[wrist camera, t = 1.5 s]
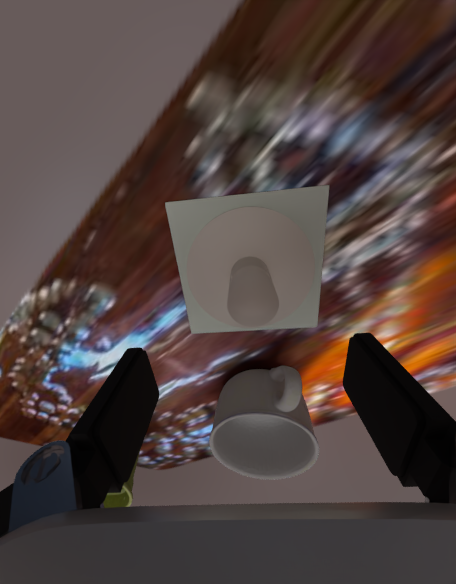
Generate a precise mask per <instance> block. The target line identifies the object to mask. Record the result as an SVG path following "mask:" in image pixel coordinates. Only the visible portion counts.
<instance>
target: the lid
mask: <svg viewBox="0 0 456 584" xmlns="http://www.w3.org/2000/svg"><path fill="white" fill-rule="evenodd" d="M314 273H315V259H314V253H313V250H312V246H311V244H310V242H309V240H308V238H307V236H306V235H305V233H304V232H303V230H302V229H301V228H300V227H299V226H298V225H297V224H296V223H295V222H293V221H292V220H291V219H290V218H288V217H286V216H285V215H283V214H281V213H279V212H277V211H274V210H272V209H268V208H264V207H256V206H248V207H240V208H235V209H232V210H229V211H226V212H224V213H222V214H220V215H218V216H217V217H215V218H214V219H212V220H211V221H210V222H209V223H208V224H207V225H206V226H205V227H204V228H203V229H202V230H201V231H200V232H199V234H198V235H197V237H196V238H195V240H194V242H193V244H192V246H191V248H190V251H189V255H188V259H187V279H188V283H189V287H190V290H191V292H192V294H193V296H194V298H195V300H196V301H197V302H198V304H199V305H200V306H201V307H202V309H203V310H204V311H205V312H207V313H208V314H209V315H210V316H212V317H213V318H215V319H216V320H218V321H220V322H222V323H225V324H228V325H230V326H235V327H240V328H258V327H264V326H268V325H271V324H274V323H276V322H279V321H281V320H283V319H284V318H286V317H287V316H289V315H290V314H291V313H293V312H294V311H295V310H296V309H297V308H298V307H299V306H300V305H301V303H302V302H303V301H304V300H305V298H306V296H307V295H308V293H309V291H310V288H311V286H312V283H313V279H314Z"/></svg>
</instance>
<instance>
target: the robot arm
mask: <svg viewBox="0 0 456 584" xmlns="http://www.w3.org/2000/svg"><path fill="white" fill-rule="evenodd" d="M343 387H344V389H345V391H346V393H347V395H348V397H349V398H350V400H351V402H352V404H353V406H354V407H355V409H356V411H357V413H358V415H359V416H360V418H361V420H362V422H363V424H364V425H365V427H366V429H367V431H368V433H369V434H370V436H371V438H372V440H373V441H374V443H375V445H376V447H377V449H378V451H379V452H380V454H381V456H382V458H383V459H384V461H385V463H386V465H387V467H388V468H389V470H390V472H391V473H392V474H393V475H394V476H397V477H398V478H399V480H400V481H401V484H402V485H403V487H413V486H418V487H419V489H420V490H421V492H422V493H423V495H424V496H425V503H415V502H354V503H278V504H221V505H177V506H136V507H113V508H104V503H103V502H104V501H105V498H106V496H107V493H121V490H122V487H123V485H124V482H127V481H128V480H129V478H130V476H131V473H132V470H133V467H134V465H135V462H136V459H137V456H138V454H139V451H140V448H141V445H142V443H143V440H144V437H145V434H146V432H147V429H148V426H149V423H150V421H151V418H152V415H153V412H154V410H155V407H156V404H157V401H158V398H159V390H158V387H157V384H156V381H155V377H154V374H153V371H152V368H151V365H150V362H149V359H148V356H147V353H146V351H143V349H142V348H129V349H127V350H126V351H125V353H124V354H123V356H122V357H121V359H120V360H119V362H118V363H117V365H116V366H115V368H114V369H113V371H112V372H111V374H110V375H109V377H108V378H107V380H106V381H105V382H104V384H103V385H102V387H101V388H100V390H99V391H98V393H97V394H96V396H95V397H94V399H93V400H92V402H91V403H90V405H89V406H88V408H87V409H86V411H85V412H84V413H83V415H82V416H81V418H80V419H79V421H78V422H77V424H76V425H75V427H74V428H73V430H72V431H71V433H70V434H69V436H68V438H67V439H66V441H54V442H51V443H49V444H47V445H44V446H43V447H41V448H40V449H38V450H37V451H35V452H34V453H33V454H32V455H31V456H30V457H29V458H28V459H27V460H26V461H25V462H24V463H23V464H22V466H21V467H20V469H19V470H18V472H17V474H16V477H15V480H14V483H13V484H11V485H10V486H8V487H7V488H5V489H4V490H2V491H1V492H0V584H456V421H455V420H454V419H453V418H452V417H451V416H450V415H449V414H448V413H447V412H446V411H445V410H444V409H443V408H442V407H441V406H440V405H439V404H438V403H437V402H436V401H435V399H433V397H432V396H430V394H429V393H428V392H427V391H426V390H425V389H424V388H423V387H422V386H421V385H420V384H419V383H418V382H417V381H416V380H415V379H414V378H413V377H412V376H411V375H410V373H409V372H408V371H407V370H406V369H405V368H404V367H403V366H402V365H401V364H400V363H399V362H398V361H397V360H396V359H395V358H394V357H393V356H392V355H391V354H390V353H389V352H388V351H387V350H386V349H385V348H384V346H383V345H382V344H381V343H380V342H379V341H378V340H377V339H376V338H375V337H374V336H373V335H372V334H371V333H357V334H354V336H353V337H351V338H350V340H349V346H348V352H347V359H346V365H345V371H344V377H343Z"/></svg>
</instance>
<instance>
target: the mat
mask: <svg viewBox="0 0 456 584" xmlns="http://www.w3.org/2000/svg"><path fill="white" fill-rule="evenodd" d="M328 195H329V185H323V186H314V187H304V188H295V189H286V190H277V191H267V192H258V193H249V194H240V195H230V196H221V197H212V198H202V199H193V200H184V201H175V202H166V203H165V206H166V211H167V215H168V220H169V225H170V230H171V235H172V240H173V245H174V250H175V255H176V259H177V264H178V269H179V274H180V279H181V284H182V289H183V294H184V299H185V303H186V308H187V313H188V318H189V323H190V328H191V333H192V334H194V333H213V332H231V331H250V330H269V329H288V328H306V327H317V323H318V311H319V300H320V288H321V276H322V265H323V253H324V241H325V230H326V218H327V206H328ZM248 206H256V207H264V208H268V209H272V210H274V211H277V212H279V213H281V214H283V215H285V216H286V217H288V218H290V219H291V220H292V221H293V222H295V223H296V224H297V225H298V226H299V227H300V228H301V229H302V230H303V232H304V233H305V235H306V236H307V238H308V240H309V242H310V244H311V246H312V250H313V253H314V259H315V273H314V279H313V283H312V286H311V288H310V291H309V293H308V295H307V296H306V298H305V300H304V301H303V302H302V303H301V305H300V306H299V307H298V308H297V309H296V310H295V311H294V312H293V313H291V314H290V315H289V316H287V317H286V318H284V319H283V320H281V321H279V322H276V323H274V324H271V325H268V326H264V327H258V328H240V327H235V326H230V325H228V324H225V323H222V322H220V321H218V320H216V319H215V318H213V317H212V316H210V315H209V314H208V313H207V312H205V311H204V310H203V309H202V307H201V306H200V305H199V304H198V302H197V301H196V300H195V298H194V296H193V294H192V292H191V290H190V287H189V283H188V279H187V259H188V255H189V251H190V248H191V246H192V244H193V242H194V240H195V238H196V237H197V235H198V234H199V232H200V231H201V230H202V229H203V228H204V227H205V226H206V225H207V224H208V223H209V222H210V221H211V220H212V219H214V218H215V217H217V216H218V215H220V214H222V213H224V212H226V211H229V210H232V209H235V208H240V207H248Z"/></svg>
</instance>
